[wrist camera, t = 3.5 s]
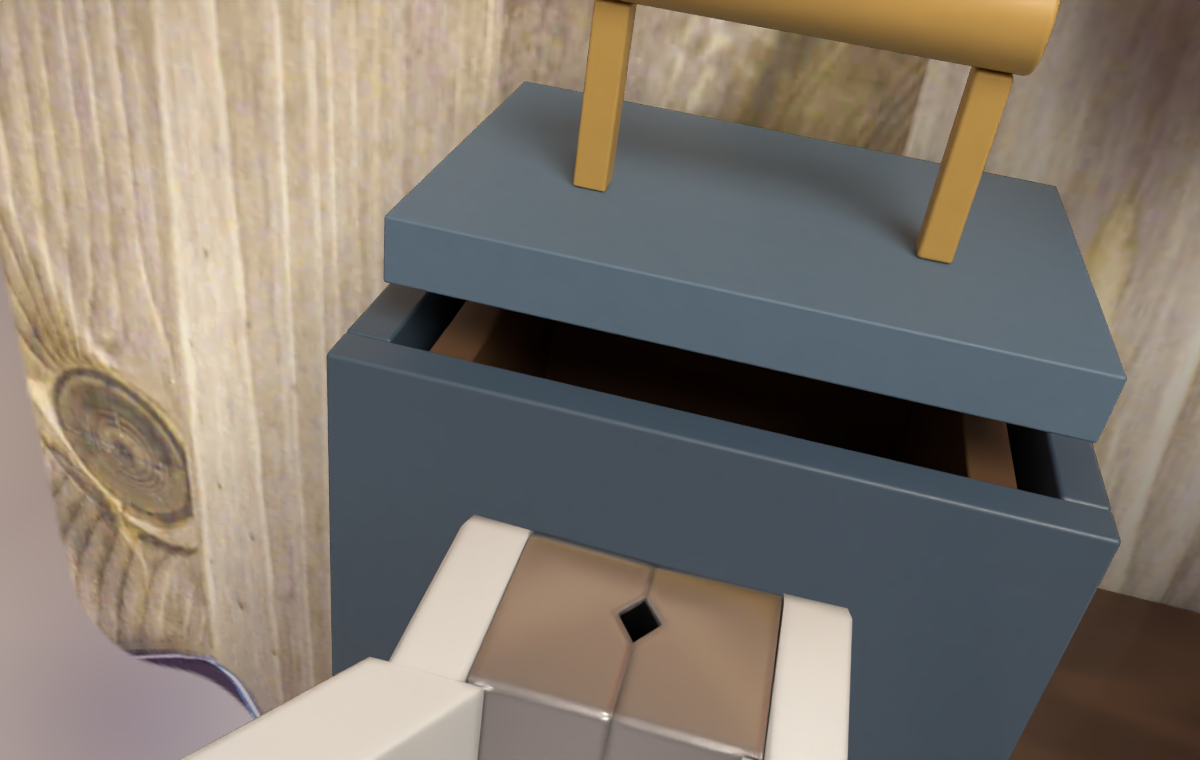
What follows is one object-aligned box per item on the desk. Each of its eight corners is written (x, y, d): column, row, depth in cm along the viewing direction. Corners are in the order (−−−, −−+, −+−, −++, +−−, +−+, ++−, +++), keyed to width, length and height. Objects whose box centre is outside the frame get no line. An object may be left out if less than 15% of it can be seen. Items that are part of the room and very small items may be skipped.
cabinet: (503, 156, 25) (324, 352, 17) (1044, 268, 24) (1123, 542, 16) (467, 600, 33) (334, 875, 25) (872, 706, 32) (866, 1037, 24)
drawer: (545, -164, 21) (388, -116, 14) (1151, -62, 19) (1285, 44, 13) (484, 543, 31) (374, 763, 24) (881, 645, 29) (879, 907, 23)
